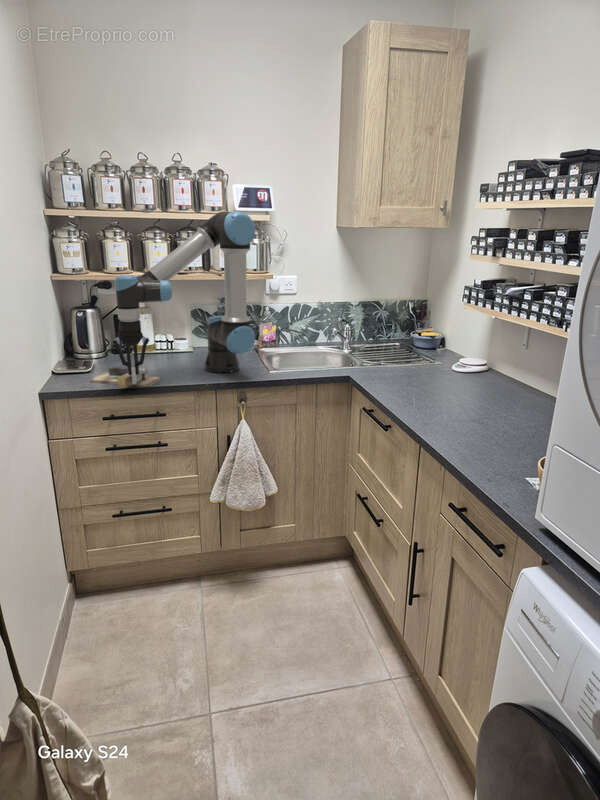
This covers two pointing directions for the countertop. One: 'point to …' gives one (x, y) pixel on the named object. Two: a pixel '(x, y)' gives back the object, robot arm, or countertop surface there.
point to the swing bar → (127, 379)
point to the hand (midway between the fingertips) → (134, 383)
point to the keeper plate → (110, 375)
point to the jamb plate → (147, 381)
